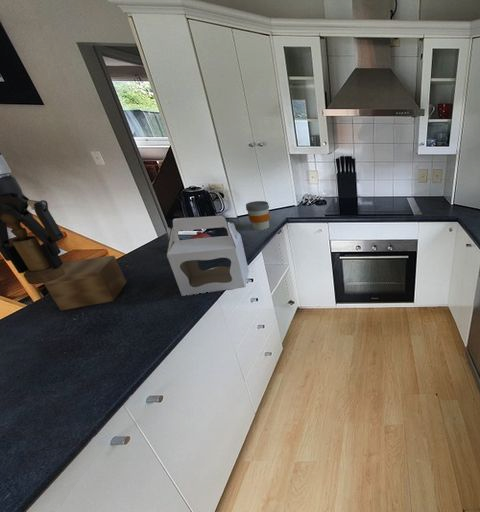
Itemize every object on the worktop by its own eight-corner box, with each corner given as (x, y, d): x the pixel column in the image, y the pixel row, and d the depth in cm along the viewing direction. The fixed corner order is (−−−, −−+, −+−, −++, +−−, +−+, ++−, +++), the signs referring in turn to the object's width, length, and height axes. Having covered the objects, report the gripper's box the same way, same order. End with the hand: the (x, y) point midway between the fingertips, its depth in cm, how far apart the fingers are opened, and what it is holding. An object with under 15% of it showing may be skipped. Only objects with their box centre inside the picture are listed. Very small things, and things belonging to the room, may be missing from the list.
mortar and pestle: (44, 272, 74) (5, 207, 66) (72, 270, 75) (37, 207, 67) (19, 285, 68) (-27, 216, 60) (50, 283, 69) (9, 215, 61)
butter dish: (188, 246, 141) (183, 230, 137) (213, 240, 148) (208, 226, 144) (192, 253, 133) (187, 237, 129) (218, 247, 140) (214, 232, 136)
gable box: (249, 271, 119) (235, 209, 106) (246, 287, 108) (230, 220, 95) (191, 278, 112) (168, 213, 100) (180, 296, 101) (154, 225, 89)
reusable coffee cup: (255, 232, 159) (250, 208, 153) (246, 227, 167) (241, 203, 160) (276, 227, 168) (272, 203, 161) (266, 222, 175) (262, 199, 168)
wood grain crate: (60, 310, 92) (41, 280, 87) (80, 289, 104) (64, 262, 98) (113, 301, 98) (99, 272, 93) (126, 282, 109) (114, 255, 104)
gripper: (-99, 182, 53) (-24, 282, 63) (35, 177, 60) (83, 268, 71) (-65, 175, 59) (-1, 268, 69) (53, 171, 66) (95, 256, 77)
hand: (41, 268), depth 70 cm, fingers closed on mortar and pestle, 5 cm apart
